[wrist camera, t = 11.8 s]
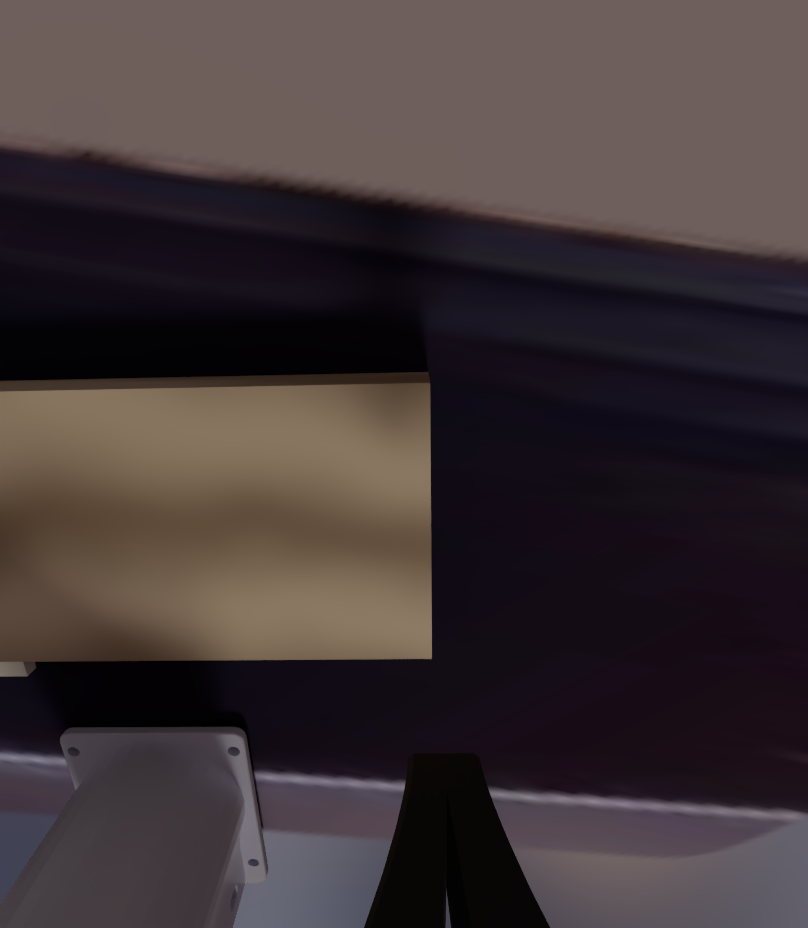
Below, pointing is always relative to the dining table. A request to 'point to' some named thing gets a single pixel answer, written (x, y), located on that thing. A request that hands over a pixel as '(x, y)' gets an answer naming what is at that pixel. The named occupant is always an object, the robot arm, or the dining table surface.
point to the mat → (16, 668)
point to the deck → (216, 518)
